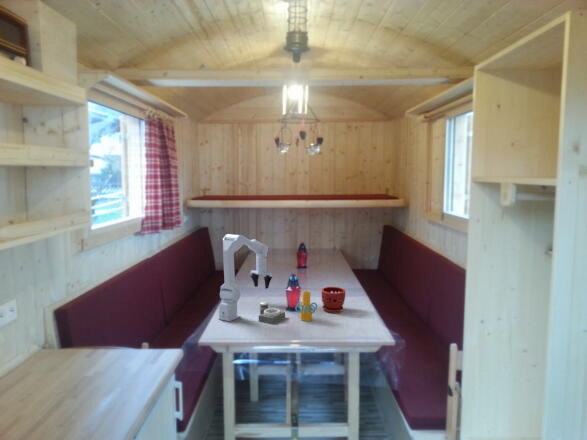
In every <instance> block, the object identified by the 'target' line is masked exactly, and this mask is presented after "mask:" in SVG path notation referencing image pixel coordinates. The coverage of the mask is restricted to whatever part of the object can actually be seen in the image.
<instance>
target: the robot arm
mask: <svg viewBox="0 0 587 440" xmlns="http://www.w3.org/2000/svg"><path fill="white" fill-rule="evenodd" d="M244 245H245V246H246V247H248V249H249V250H251V251H253V252H254V254H256V255H255V259H256V260H255V261H256V262H255V264H256V267H255V269H256V270H254V269H253V270H250V278H251V280H252V281H253V285H254V287H255V288H257V287H259V276H263V280H264V289H265V290H267V289H269V288H270V287H269V286H270V283H271V280H272V278H273V274H274V273H273V272H270V271H267V257H268V252H269V248H268V245H267V244H265V243H262V242H261V241H258V240H257V239H255V238H254V239H249V238H247V237H245V235H242V234H230V233H227V234H225V235H224V237H223V238H222V254H223V255H222V257H223V258H222V260H223V275H224V277H223V278H224V283H223V284H222V285H221V286H220V292H219V297H220V299H221V302H222V303H221V304H220V305H219V306H218V307H219V308H218V314H219V317H217V319H218V320H220V321H221V320H222V321H225V322H231V321H234V320H237V319H238V318H241V315H239V314H238V301H239V300H240V298H241V292H240V287H239V285H238V284H237V283H236V277H235V275H236V273H235V256H234V254H235V252H238V250H240V249H241V248H242V247H243V246H244Z"/></svg>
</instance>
